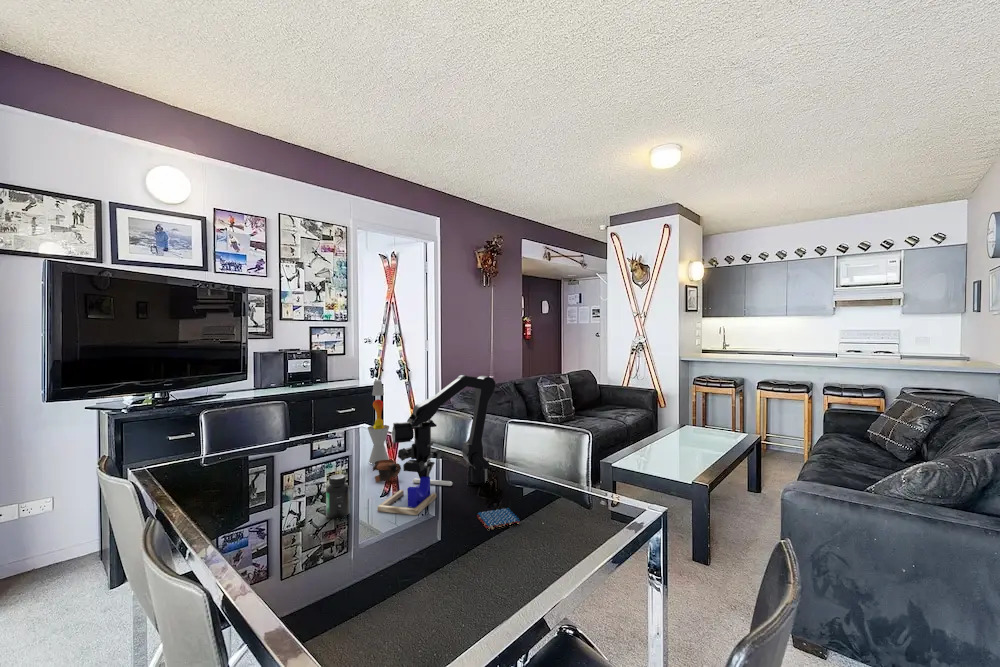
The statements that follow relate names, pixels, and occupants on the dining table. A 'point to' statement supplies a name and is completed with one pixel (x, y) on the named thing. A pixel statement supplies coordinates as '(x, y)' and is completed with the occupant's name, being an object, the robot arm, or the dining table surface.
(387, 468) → the pottery mug
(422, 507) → the frame
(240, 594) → the dining table surface
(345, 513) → the supplement bottle
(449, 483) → the white peg
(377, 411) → the lava lamp
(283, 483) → the dining table surface
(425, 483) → the cable clip
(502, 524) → the woven mat
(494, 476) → the dining table surface
